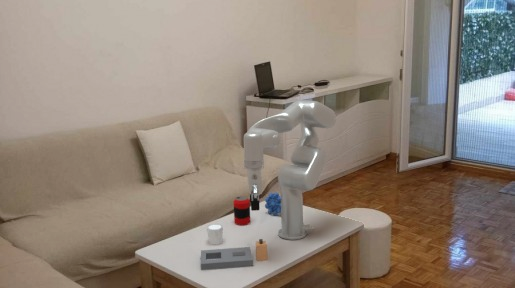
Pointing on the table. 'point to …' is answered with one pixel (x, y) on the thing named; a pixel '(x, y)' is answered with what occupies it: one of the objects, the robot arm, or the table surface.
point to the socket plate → (226, 258)
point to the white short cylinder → (215, 233)
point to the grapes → (273, 203)
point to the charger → (261, 250)
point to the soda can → (241, 211)
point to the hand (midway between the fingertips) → (254, 206)
